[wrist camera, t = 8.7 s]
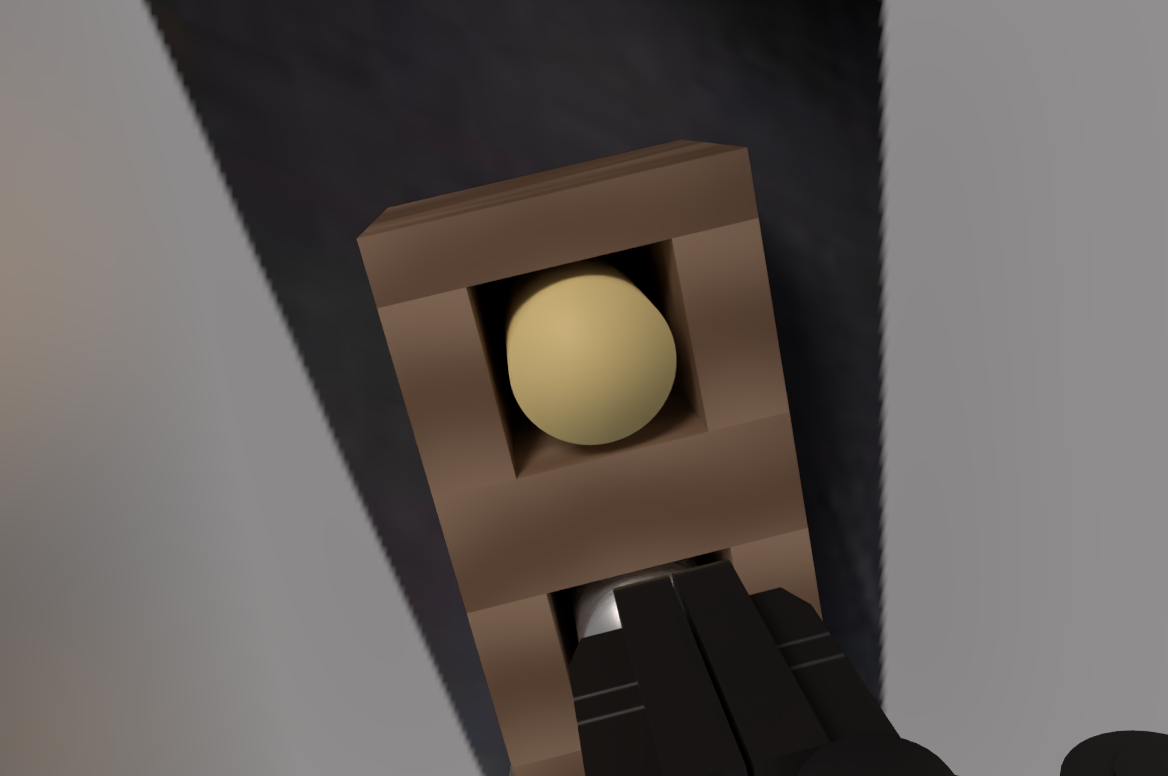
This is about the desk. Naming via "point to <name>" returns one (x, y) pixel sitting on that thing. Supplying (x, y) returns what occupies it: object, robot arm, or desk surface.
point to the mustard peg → (586, 351)
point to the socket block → (606, 471)
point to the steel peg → (612, 597)
